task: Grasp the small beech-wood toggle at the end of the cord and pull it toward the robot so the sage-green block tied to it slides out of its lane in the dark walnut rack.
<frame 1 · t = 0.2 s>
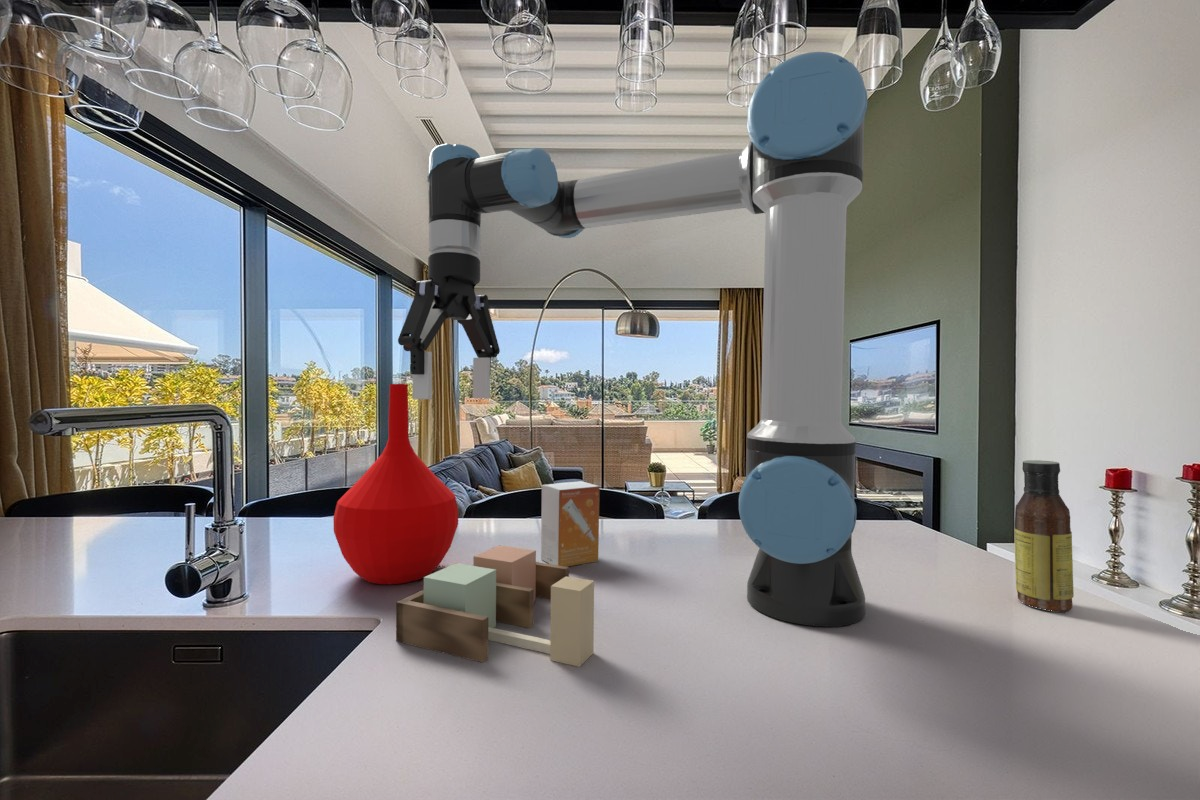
hand: (453, 399, 83), 28 cm above the worktop, fingers open, 13 cm apart
vase: (398, 575, 88), on the worktop
tethered block: (460, 631, 67), on the worktop
small box: (569, 561, 95), on the worktop
sauce bottle: (1042, 606, 77), on the worktop
terracotta block: (504, 604, 76), resting in lane rack
lane rack: (490, 618, 71), on the worktop
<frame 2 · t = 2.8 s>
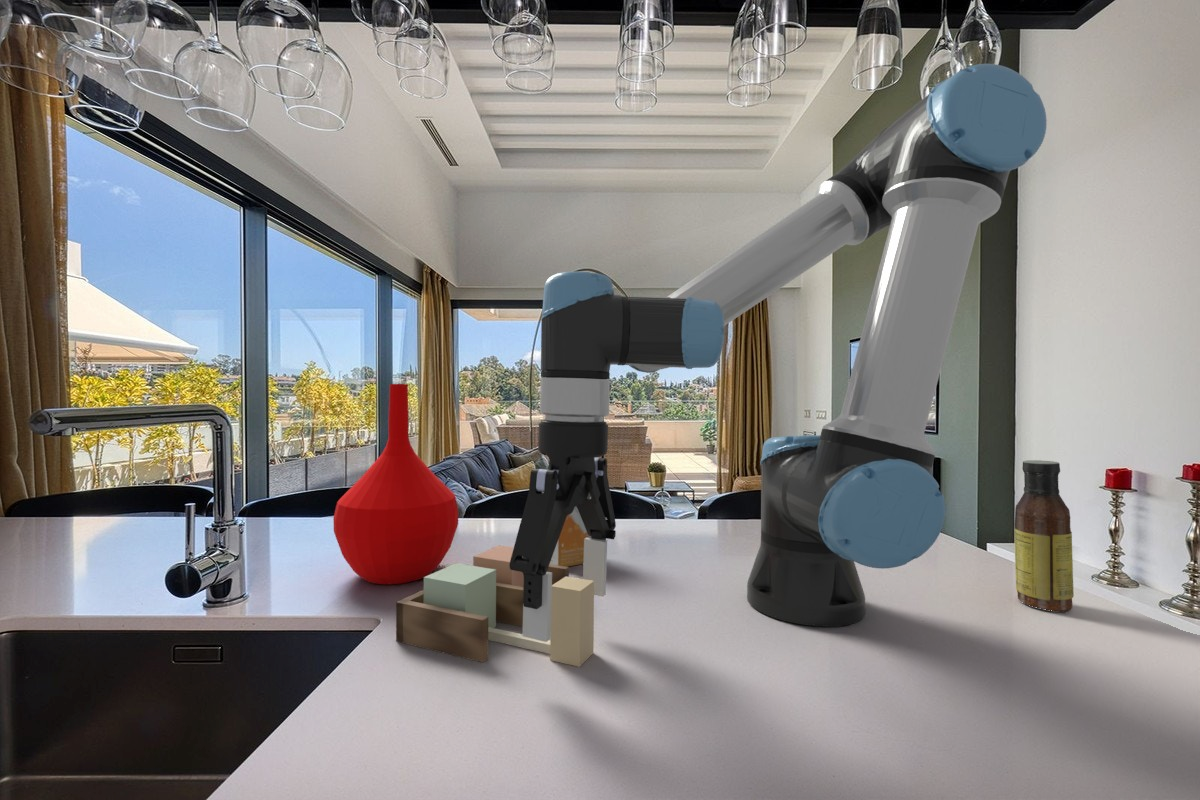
hand: (568, 613, 61), 5 cm above the worktop, fingers open, 13 cm apart
nothing on the worktop moved.
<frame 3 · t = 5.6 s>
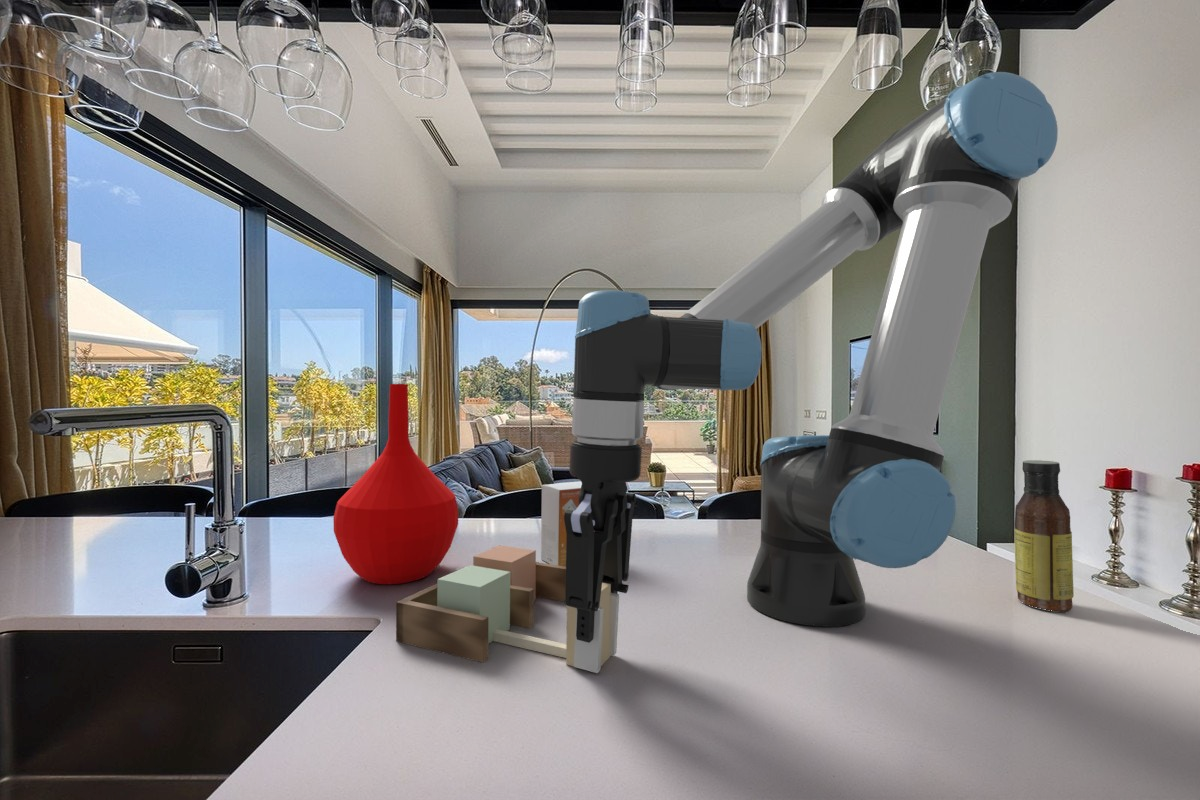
hand: (595, 659, 60), 0 cm above the worktop, fingers closed on tethered block, 3 cm apart
tethered block: (474, 634, 66), on the worktop, touching gripper
everything else where it was.
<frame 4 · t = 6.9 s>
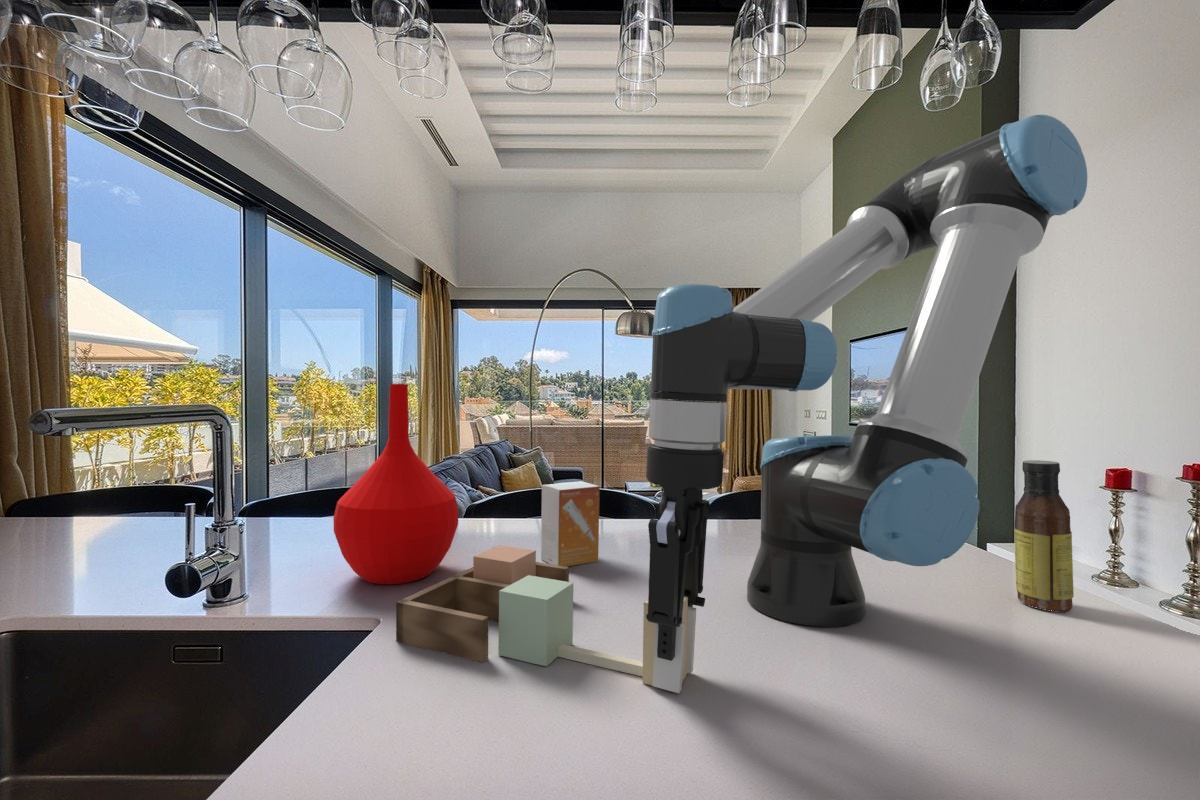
hand: (673, 677, 56), 0 cm above the worktop, fingers closed on tethered block, 3 cm apart
tethered block: (536, 649, 62), on the worktop, touching gripper
everything else where it was.
when the fingers open (0 cm above the worktop, at t = 8.3 s): tethered block stays where it is, on the worktop.
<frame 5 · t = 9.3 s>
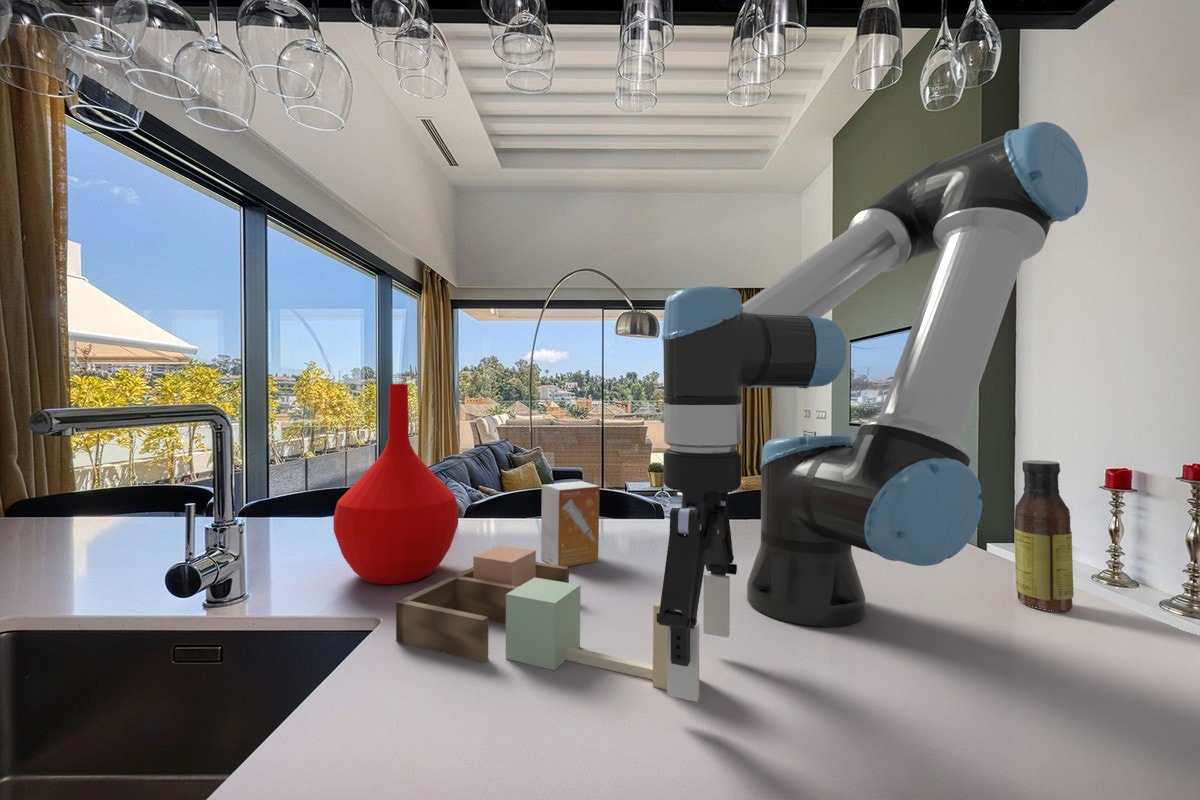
hand: (701, 662, 55), 2 cm above the worktop, fingers open, 13 cm apart
tethered block: (543, 652, 62), on the worktop
everything else where it was.
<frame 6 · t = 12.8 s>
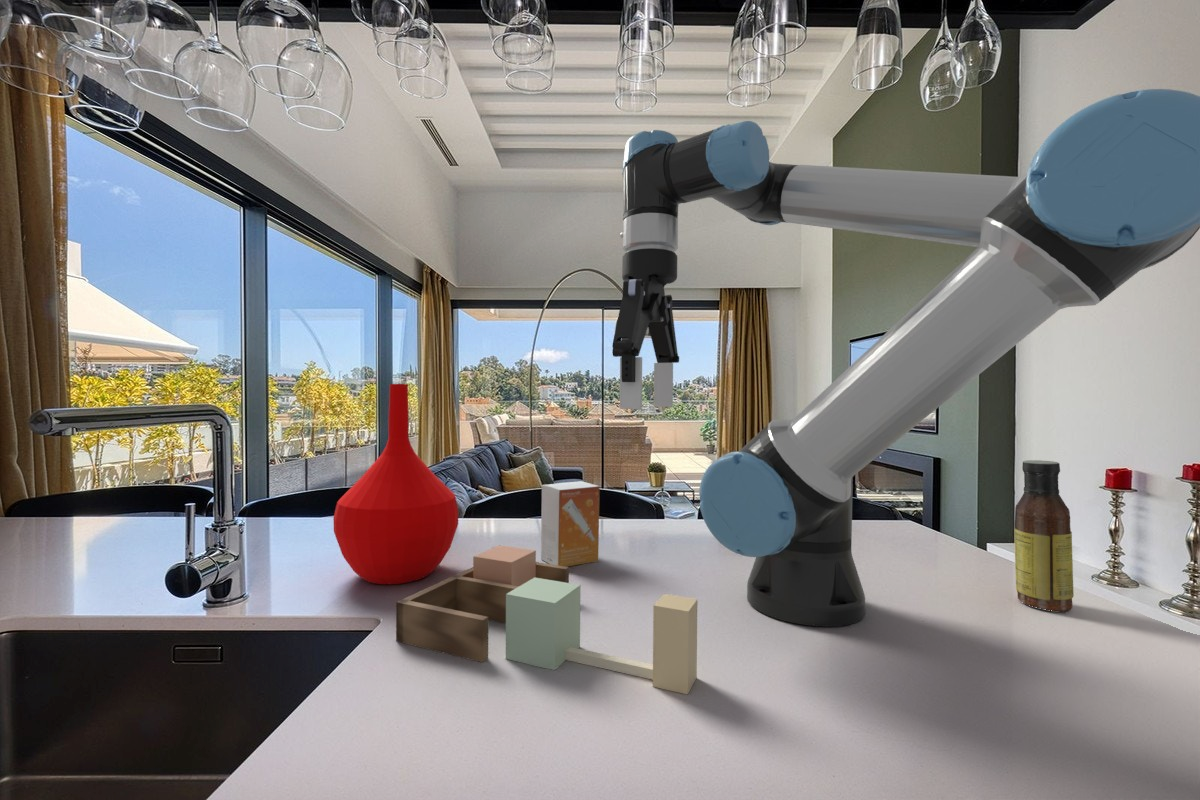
hand: (648, 408, 77), 27 cm above the worktop, fingers open, 13 cm apart
nothing on the worktop moved.
at the end: tethered block inside the target area (5.3 cm from its centre), on the worktop; tethered block moved 11.7 cm from its start; the gripper is holding nothing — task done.
